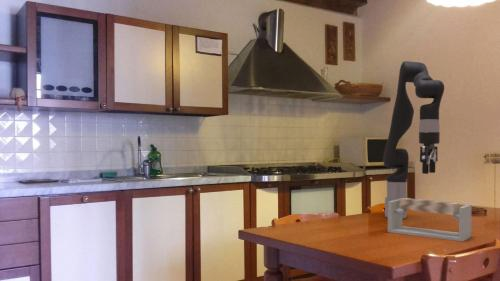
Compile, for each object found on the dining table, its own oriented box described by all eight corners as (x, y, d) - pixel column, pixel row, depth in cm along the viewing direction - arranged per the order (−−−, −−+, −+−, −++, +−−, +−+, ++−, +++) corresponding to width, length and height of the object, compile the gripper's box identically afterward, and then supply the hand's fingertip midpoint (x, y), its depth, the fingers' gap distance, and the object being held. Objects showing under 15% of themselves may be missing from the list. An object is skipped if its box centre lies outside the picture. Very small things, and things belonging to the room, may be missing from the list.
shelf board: (399, 208, 189) (399, 198, 189) (405, 207, 192) (405, 198, 192) (453, 215, 173) (453, 204, 173) (459, 213, 176) (459, 203, 176)
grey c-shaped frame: (387, 232, 186) (387, 201, 186) (398, 228, 195) (398, 199, 196) (463, 241, 169) (463, 208, 169) (471, 236, 178) (471, 204, 179)
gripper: (425, 132, 190) (424, 172, 190) (413, 131, 179) (413, 173, 179) (444, 131, 186) (444, 172, 186) (433, 130, 175) (433, 174, 174)
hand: (428, 173), depth 182 cm, fingers open, 8 cm apart
